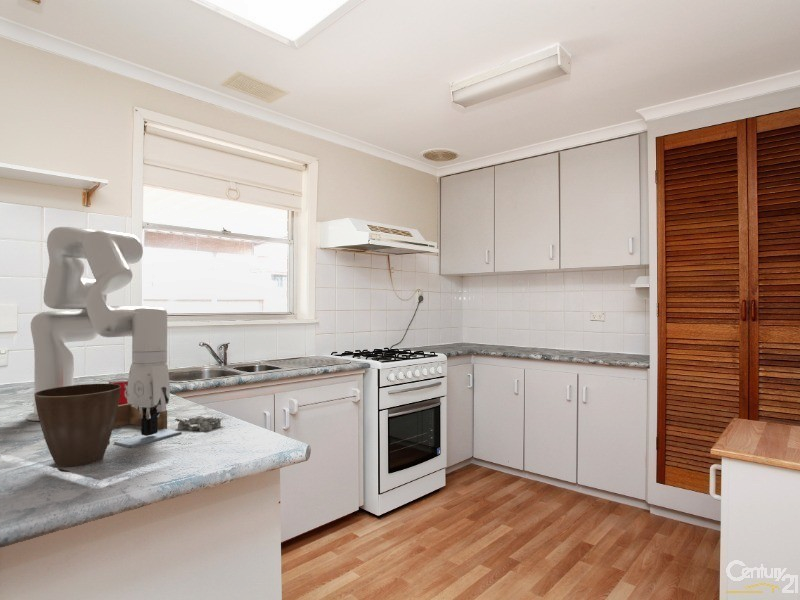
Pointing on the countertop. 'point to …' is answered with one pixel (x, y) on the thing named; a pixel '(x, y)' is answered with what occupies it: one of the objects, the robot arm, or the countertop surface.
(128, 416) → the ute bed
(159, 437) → the panel
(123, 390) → the soda can
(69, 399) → the plant pot
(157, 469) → the countertop surface
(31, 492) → the countertop surface
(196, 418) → the egg carton
